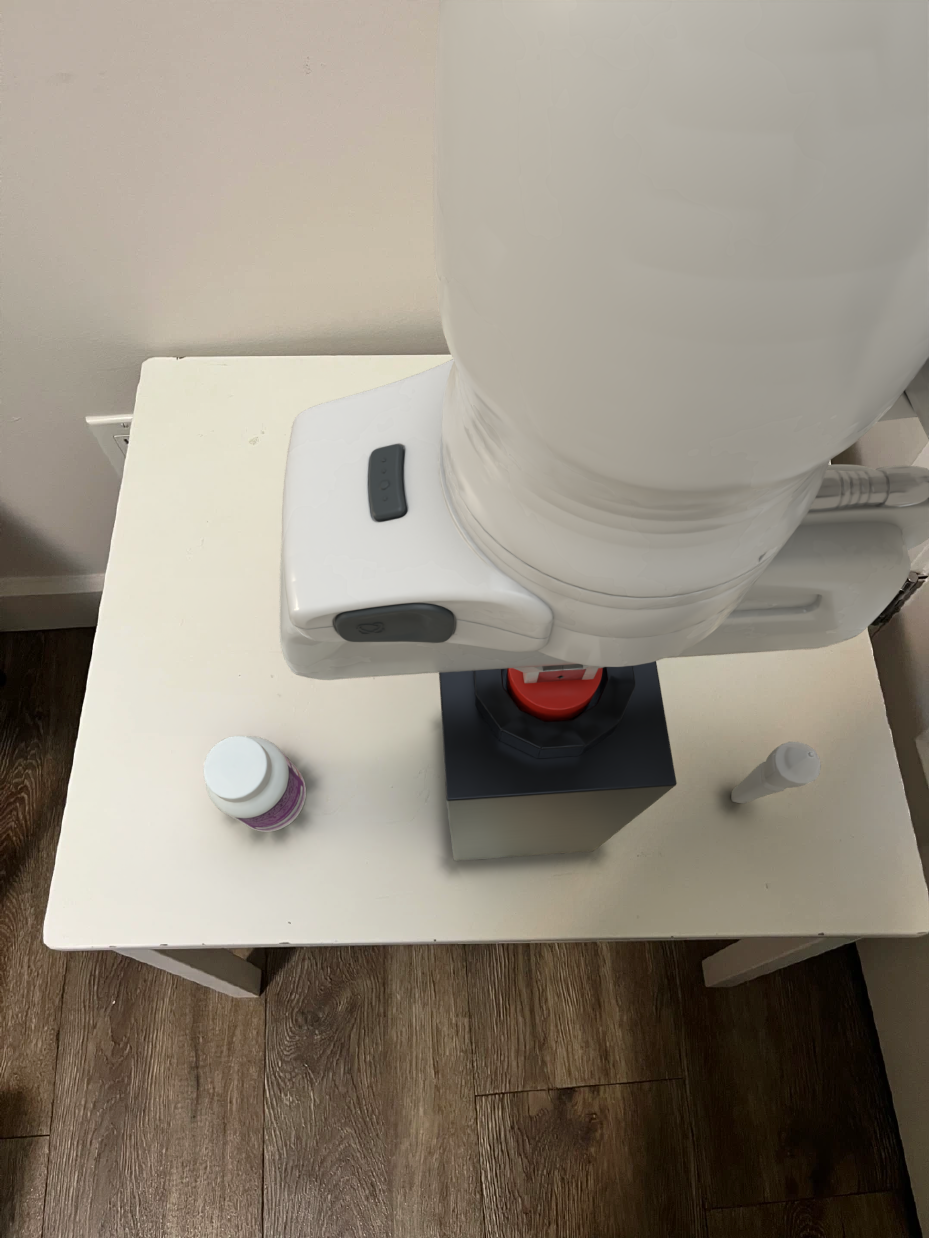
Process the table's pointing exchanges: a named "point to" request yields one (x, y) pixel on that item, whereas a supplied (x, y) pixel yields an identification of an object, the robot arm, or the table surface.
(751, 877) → the table surface
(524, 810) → the button column
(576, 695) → the push knob
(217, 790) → the pill bottle
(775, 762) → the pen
